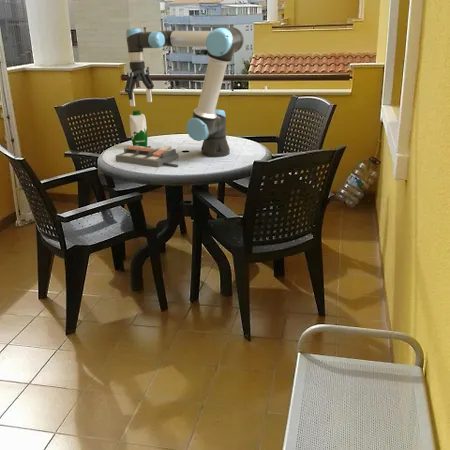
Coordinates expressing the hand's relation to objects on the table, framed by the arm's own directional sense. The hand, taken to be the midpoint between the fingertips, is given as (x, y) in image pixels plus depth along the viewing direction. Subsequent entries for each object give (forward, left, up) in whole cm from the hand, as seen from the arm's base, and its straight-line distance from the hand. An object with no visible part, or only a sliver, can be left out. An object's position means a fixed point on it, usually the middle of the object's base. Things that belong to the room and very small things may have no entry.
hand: (141, 104), depth 274 cm
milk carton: (+12, -10, -27) cm, 31 cm away
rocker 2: (-17, +7, -22) cm, 29 cm away
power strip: (-13, +10, -26) cm, 31 cm away
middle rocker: (-9, +7, -22) cm, 25 cm away
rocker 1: (-1, +7, -22) cm, 23 cm away
